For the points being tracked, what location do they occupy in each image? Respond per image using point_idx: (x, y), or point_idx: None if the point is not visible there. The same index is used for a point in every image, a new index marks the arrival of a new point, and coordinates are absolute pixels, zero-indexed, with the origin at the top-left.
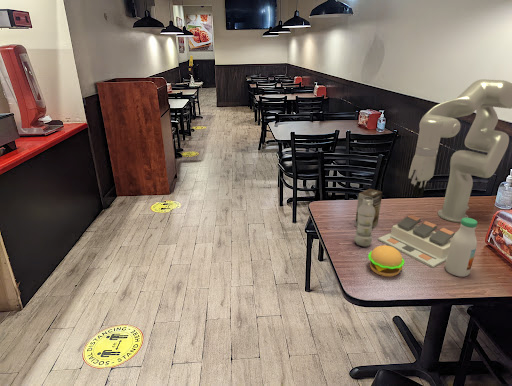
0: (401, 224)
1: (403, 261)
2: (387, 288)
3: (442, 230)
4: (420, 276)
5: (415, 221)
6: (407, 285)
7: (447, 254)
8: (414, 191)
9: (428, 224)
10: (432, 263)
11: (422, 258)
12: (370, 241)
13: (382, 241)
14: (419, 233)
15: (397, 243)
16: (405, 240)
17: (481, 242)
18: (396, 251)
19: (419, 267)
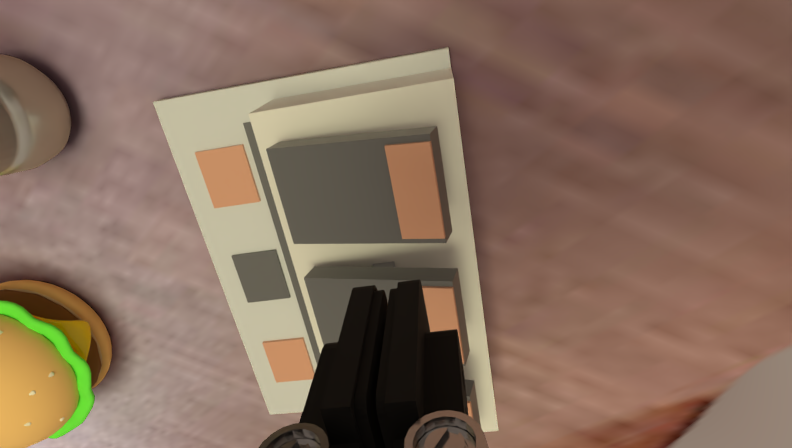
0: (282, 180)
1: (75, 423)
2: None
3: None
4: (180, 419)
5: (390, 232)
6: (94, 432)
7: None
8: (345, 337)
9: (429, 322)
10: (284, 402)
11: (269, 361)
12: (29, 169)
13: (171, 139)
14: (317, 322)
15: (240, 207)
16: None
17: (733, 372)
18: (1, 439)
19: (220, 382)
